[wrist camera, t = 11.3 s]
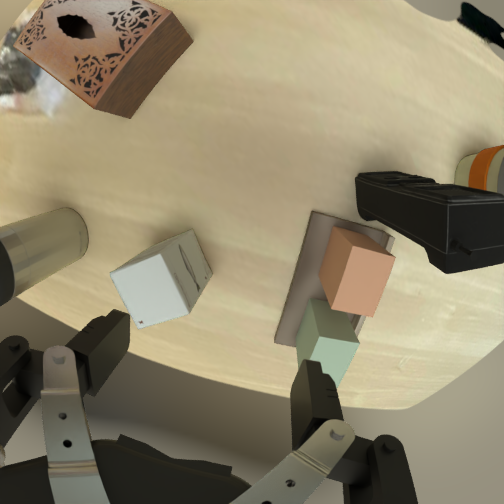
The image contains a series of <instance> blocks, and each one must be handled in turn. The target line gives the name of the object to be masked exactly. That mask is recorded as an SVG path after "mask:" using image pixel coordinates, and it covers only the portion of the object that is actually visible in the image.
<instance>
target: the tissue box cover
mask: <svg viewBox="0 0 504 504" xmlns="http://www.w3.org/2000/svg"><path fill="white" fill-rule="evenodd" d="M76 17H77V18H76ZM72 22H73V23H72ZM69 26H70V27H69ZM66 30H67V31H66ZM192 43H193V40H192V39H191V37H190V36H189V34H188V33H187V32H186V30H185V29H184V27H183V26H182V24H181V23H180V22H179V20H178V19H177V17H176V16H175V15H174V13H173V12H172V11H170V10H168V9H165V8H163V7H161V6H159V5H157V4H154V3H152V2H150V1H147V0H45V1H44V2H43V3H42V5H41V6H40V7H39V9H38V10H37V11H36V13H35V14H34V15H33V17H32V18H31V20H30V21H29V22H28V24H27V25H26V27H25V28H24V30H23V31H22V33H21V34H20V36H19V37H18V39H17V41H16V42H15V44H14V45H13V46H14V47H15V48H16V49H17V50H19V51H20V52H21V53H23V54H24V55H25V56H27V57H28V58H29V59H31V60H32V61H33V62H34V63H36V64H37V65H38V66H40V67H41V68H42V69H43V70H45V71H46V72H47V73H49V74H50V75H51V76H52V77H54V78H55V79H56V80H58V81H59V82H60V83H61V84H63V85H64V86H65V87H67V88H68V89H69V90H70V91H72V92H73V93H74V94H75V95H77V96H78V97H79V98H81V99H82V100H83V101H84V102H86V103H87V104H88V105H89V106H91V107H92V108H93V109H96V110H100V111H104V112H108V113H111V114H115V115H119V116H122V117H126V118H129V119H131V117H132V116H133V114H134V113H135V112H136V110H137V109H138V108H139V106H140V105H141V103H142V102H143V101H144V99H145V98H146V97H147V96H148V94H149V93H150V92H151V90H152V89H153V88H154V87H155V85H156V84H157V83H158V82H159V80H160V79H161V78H162V77H163V75H164V74H165V73H166V72H167V71H168V70H169V68H170V67H171V66H172V65H173V64H174V63H175V61H176V60H177V59H178V58H179V57H180V56H181V55H182V54H183V52H184V51H185V50H186V49H187V48H188V47H189V46H190V45H191V44H192Z"/></svg>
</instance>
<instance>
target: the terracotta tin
mask: <svg viewBox="0 0 504 504" xmlns="http://www.w3.org/2000/svg"><path fill="white" fill-rule="evenodd" d="M395 258H396V257H395V256H393V255H392V254H391V253H389V252H388V251H387V250H386V249H384V248H383V247H382V246H381V245H379V244H378V243H377V242H375V241H374V240H373V239H372V238H370V237H369V236H368V235H365V234H361V233H358V232H354V231H350V230H347V229H343V228H339V227H336V226H333V228H332V231H331V235H330V238H329V242H328V245H327V248H326V252H325V255H324V258H323V261H322V265H321V268H320V271H319V274H318V276H319V279H320V281H321V284H322V286H323V289H324V291H325V294H326V297H327V299H328V302H329V305H330V307H331V309H333V310H338V311H343V312H348V313H353V314H358V315H363V316H368V317H373V315H374V313H375V311H376V308H377V306H378V303H379V301H380V298H381V296H382V293H383V291H384V288H385V286H386V283H387V280H388V278H389V275H390V272H391V269H392V267H393V264H394V261H395Z"/></svg>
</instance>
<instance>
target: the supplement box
mask: <svg viewBox="0 0 504 504" xmlns="http://www.w3.org/2000/svg"><path fill="white" fill-rule="evenodd" d="M211 276H212V272H211V270H210V268H209V266H208V264H207V262H206V260H205V257H204V255H203V253H202V251H201V248H200V246H199V243H198V241H197V239H196V236H195V233H194V231H193V229H191V230H189V231H186V232H184V233H181V234H179V235H177V236H174V237H172V238H169V239H167V240H165V241H162V242H160V243H158V244H156V245H153V246H151V247H150V248H148V249H146V250H145V251H143V252H141V253H140V254H138V255H137V256H135V257H134V258H132V259H131V260H129V261H128V262H126V263H125V264H123V265H122V266H120V267H119V268H117V269H116V270H114V271H112V272H110V277H111V279H112V281H113V283H114V285H115V287H116V289H117V291H118V293H119V295H120V297H121V299H122V300H123V303H124V305H125V306H126V308H127V310H128V312H129V313H130V315H131V317H132V319H133V321H134V323H135V324H136V326H137V328H138V329H142V328H145V327H148V326H152V325H155V324H158V323H162V322H165V321H168V320H172V319H175V318H178V317H182V316H185V315H188V314H189V313H190V312H191V310H192V308H193V307H194V305H195V303H196V302H197V300H198V298H199V297H200V295H201V293H202V291H203V290H204V288H205V286H206V285H207V283H208V281H209V280H210V278H211Z"/></svg>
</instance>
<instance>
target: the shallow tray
mask: <svg viewBox="0 0 504 504" xmlns="http://www.w3.org/2000/svg"><path fill="white" fill-rule="evenodd" d="M333 226H336V227H339V228H343V229H347V230H350V231H354V232H358V233H361V234H365V235H368V236H369V237H370V238H372V239H373V240H374V241H375V242H377V243H378V244H379V245H381V246H382V247H383V248H384V249H386V250H387V251H388V252H389V253H390V252H391V249H392V246H393V243H394V240H395V238H394V237H393V236H391V235H390V234H388V233H386V232H385V231H381V230H378V229H375V228H371V227H368V226H365V225H361V224H358V223H354V222H351V221H347V220H344V219H340V218H336V217H333V216H329V215H325V214H322V213H318V212H314V211H312V212H311V215H310V219H309V223H308V227H307V230H306V234H305V238H304V241H303V245H302V248H301V252H300V255H299V259H298V262H297V266H296V269H295V273H294V276H293V279H292V283H291V286H290V289H289V293H288V296H287V299H286V303H285V306H284V309H283V312H282V316H281V319H280V322H279V325H278V328H277V331H276V335H275V338H274V343H277V344H281V345H286V346H292V347H296V336H297V333H298V330H299V327H300V325H301V322H302V319H303V316H304V313H305V310H306V307H307V305H308V302H309V299H310V298H313V299H317V300H322V301H327V302H328V299H327V297H326V294H325V291H324V289H323V286H322V284H321V281H320V279H319V276H318V274H319V271H320V268H321V265H322V261H323V258H324V255H325V252H326V248H327V245H328V242H329V238H330V235H331V231H332V228H333ZM346 314H347V316H348V318H349V320H350V322H351V325H352V327H353V329H354V331H355V334H356V336H357V337H358V335H359V332H360V330H361V328H362V325H363V323H364V321H365V318H366V316H363V315H358V314H353V313H348V312H346Z"/></svg>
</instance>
